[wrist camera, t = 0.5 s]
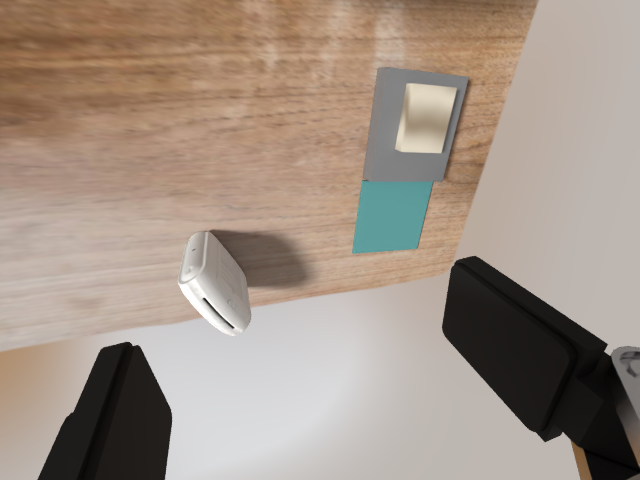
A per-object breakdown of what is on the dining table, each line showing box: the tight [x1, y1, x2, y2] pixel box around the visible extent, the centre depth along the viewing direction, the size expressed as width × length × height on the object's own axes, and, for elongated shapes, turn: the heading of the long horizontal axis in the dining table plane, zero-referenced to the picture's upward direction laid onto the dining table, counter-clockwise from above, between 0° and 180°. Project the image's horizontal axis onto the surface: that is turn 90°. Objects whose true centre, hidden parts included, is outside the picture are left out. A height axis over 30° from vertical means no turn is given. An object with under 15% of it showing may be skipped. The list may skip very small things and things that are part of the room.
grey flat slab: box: [363, 67, 469, 182], centre depth 43 cm, size 14×12×2 cm
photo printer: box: [178, 231, 251, 336], centre depth 39 cm, size 10×4×12 cm, turn 26°
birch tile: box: [395, 83, 457, 153], centre depth 40 cm, size 8×6×2 cm
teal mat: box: [352, 180, 433, 254], centre depth 50 cm, size 12×12×1 cm
